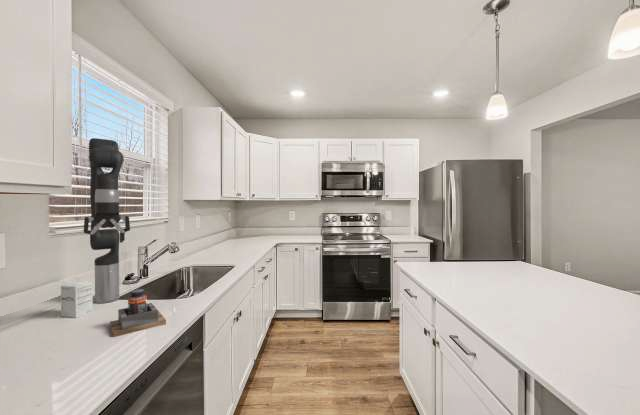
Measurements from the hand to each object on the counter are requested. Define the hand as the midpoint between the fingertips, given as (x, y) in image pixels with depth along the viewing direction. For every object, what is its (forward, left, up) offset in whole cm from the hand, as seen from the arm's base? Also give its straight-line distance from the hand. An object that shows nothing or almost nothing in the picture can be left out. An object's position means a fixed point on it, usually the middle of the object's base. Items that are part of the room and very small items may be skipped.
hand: (107, 243), depth 111 cm
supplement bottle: (+12, +8, -29) cm, 32 cm away
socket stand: (+12, +8, -30) cm, 33 cm away
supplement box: (-17, -9, -30) cm, 36 cm away
